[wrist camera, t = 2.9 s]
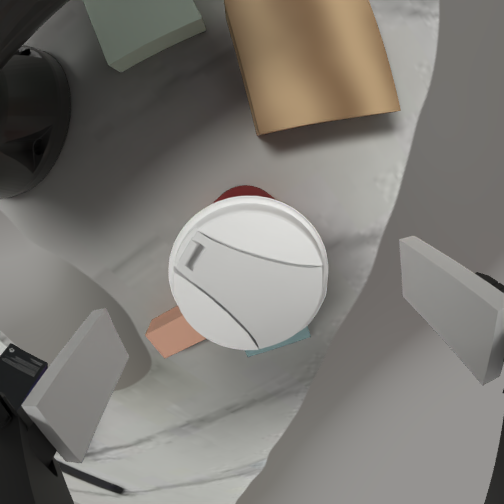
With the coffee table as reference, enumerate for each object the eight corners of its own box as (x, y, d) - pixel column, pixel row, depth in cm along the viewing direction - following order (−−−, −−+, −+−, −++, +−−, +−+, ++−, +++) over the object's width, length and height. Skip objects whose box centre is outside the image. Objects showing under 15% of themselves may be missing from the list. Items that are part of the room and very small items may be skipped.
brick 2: (247, 339, 32) (247, 357, 29) (236, 314, 31) (235, 331, 28) (305, 320, 31) (310, 336, 28) (296, 294, 30) (302, 309, 27)
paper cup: (183, 232, 28) (135, 311, 14) (230, 154, 26) (219, 164, 12) (260, 276, 29) (275, 381, 16) (309, 205, 27) (370, 262, 14)
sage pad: (121, 72, 23) (108, 65, 20) (95, 9, 20) (82, -2, 18) (206, 30, 22) (202, 18, 19) (173, -31, 20) (167, -47, 17)
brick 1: (170, 340, 31) (164, 358, 29) (152, 318, 31) (145, 335, 28) (219, 315, 31) (217, 332, 28) (202, 291, 30) (198, 306, 27)
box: (53, 435, 37) (27, 490, 26) (19, 416, 36) (-12, 467, 25) (51, 363, 32) (7, 429, 21) (10, 341, 31) (-39, 397, 20)
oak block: (257, 136, 25) (259, 134, 21) (226, 18, 22) (223, -1, 18) (380, 114, 25) (400, 110, 21) (348, 3, 21) (362, -15, 17)
